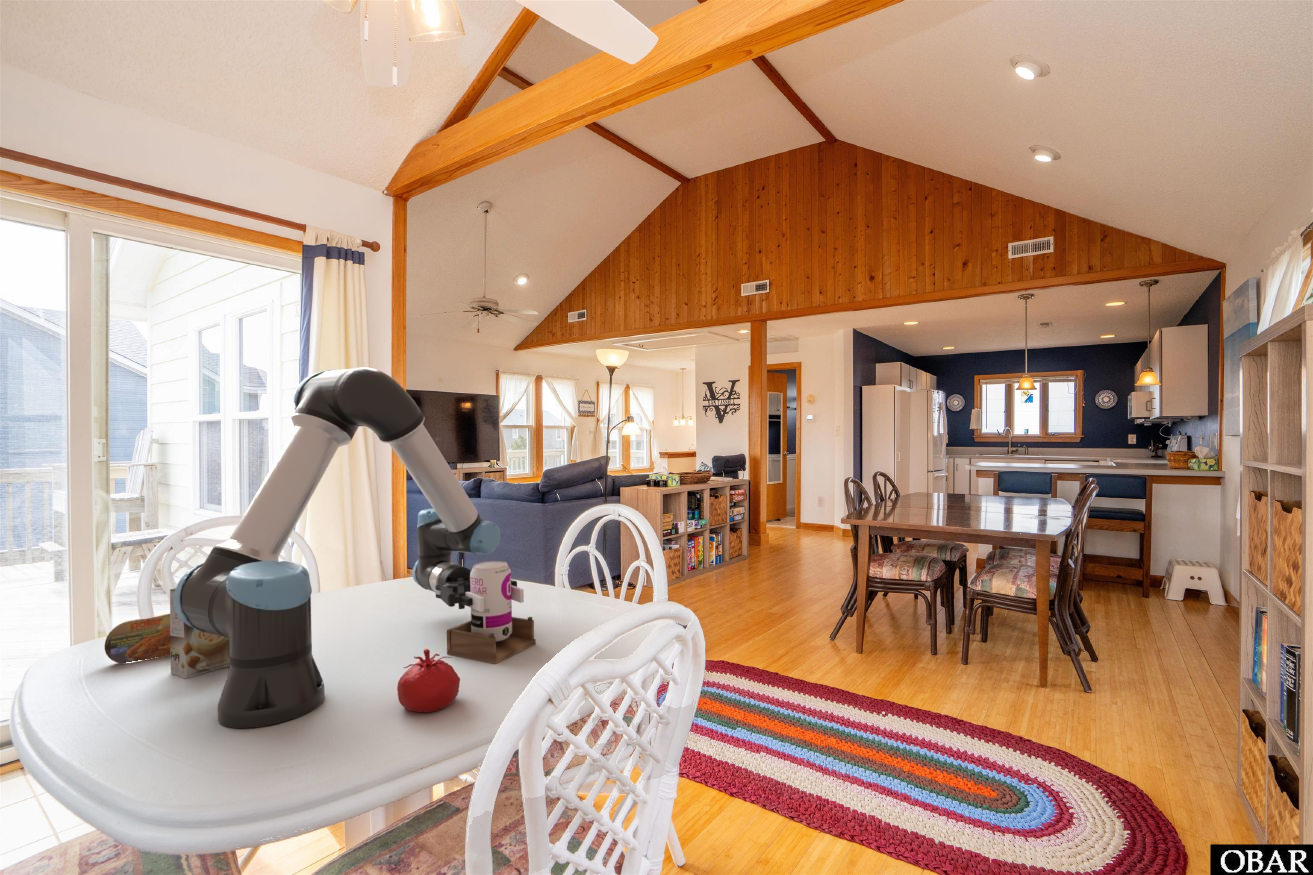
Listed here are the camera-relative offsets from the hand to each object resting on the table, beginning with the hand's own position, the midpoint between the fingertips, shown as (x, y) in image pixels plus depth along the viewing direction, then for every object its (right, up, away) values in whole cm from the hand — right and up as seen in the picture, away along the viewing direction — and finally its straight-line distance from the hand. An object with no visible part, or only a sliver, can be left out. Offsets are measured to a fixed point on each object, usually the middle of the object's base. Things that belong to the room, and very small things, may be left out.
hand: (502, 600), depth 128 cm
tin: (-72, -12, +2) cm, 73 cm away
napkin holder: (-3, -11, +4) cm, 12 cm away
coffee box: (-57, -12, -5) cm, 58 cm away
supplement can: (-3, -9, +4) cm, 10 cm away
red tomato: (-6, -12, -23) cm, 26 cm away
